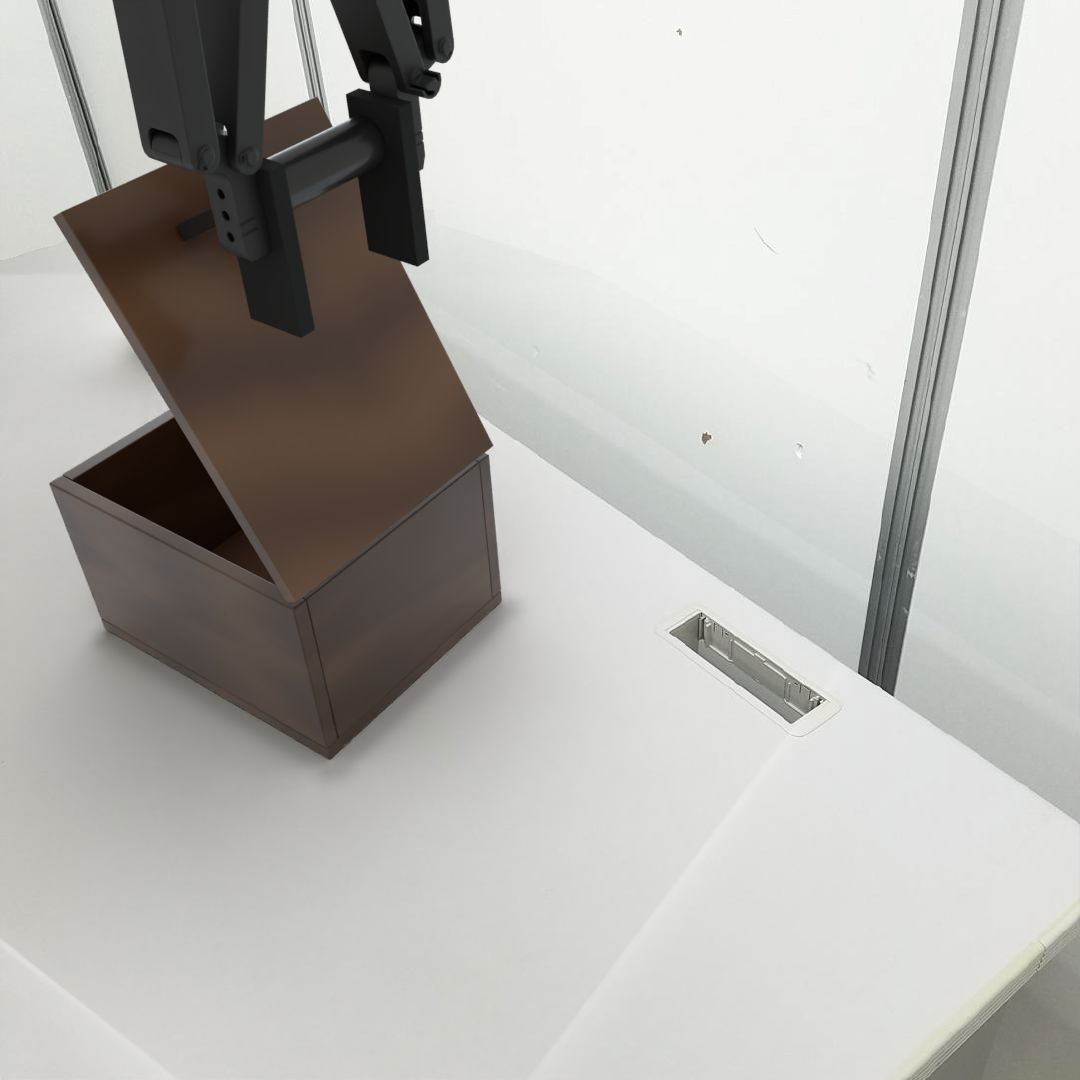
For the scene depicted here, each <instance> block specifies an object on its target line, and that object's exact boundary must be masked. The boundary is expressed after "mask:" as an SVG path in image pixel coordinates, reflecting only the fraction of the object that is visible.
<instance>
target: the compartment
mask: <svg viewBox="0 0 1080 1080" xmlns="http://www.w3.org/2000/svg"><path fill="white" fill-rule="evenodd" d="M48 485H49V487H50V490H51V492H52V493H51V494H52V495H53V497H54V501H55V503H56V506H57V508H58V511H59V513H60V516H61V518H62V521H63V523H64V527H65V529H66V532H67V535H68V536H69V537H68V538H69V539H70V542H71V545H72V548H73V550H74V551H75V552H74V553H75V555H76V558H77V560H78V562H79V566H80V567H81V571H82V573H83V576H84V579H85V581H86V583H87V586H88V588H89V591H90V594H91V596H92V599H93V602H94V605H95V607H96V609H97V612H98V615H99V617H100V618H101V622H102V626H103V628H104V629H105V630H107V631H108V632H110V633H111V634H113V635H115V636H117V637H119V638H120V639H122V640H124V641H126V642H127V643H129V644H131V645H132V646H134V647H136V648H137V649H139V650H141V651H143V652H144V653H146V654H148V655H150V656H151V657H153V658H155V659H157V660H158V661H160V662H162V663H164V664H165V665H166V666H169V667H170V668H172V669H174V670H175V671H177V672H179V673H180V674H182V675H184V676H185V677H187V678H188V679H191V680H193V681H194V682H195V683H197V684H200V685H201V686H203V687H204V688H206V689H208V690H210V691H211V692H213V693H215V694H217V695H219V696H220V697H222V698H224V699H225V700H227V701H229V702H231V703H232V704H234V705H235V706H237V707H239V708H241V709H243V710H244V711H246V712H248V713H249V714H251V715H253V716H255V718H258V719H259V720H262V721H263V722H265V723H266V724H268V725H270V726H272V727H274V728H275V729H277V730H279V731H280V732H282V733H284V734H285V735H288V736H289V737H290V738H292V739H294V740H296V741H297V742H299V743H301V744H303V745H304V746H306V747H308V748H310V749H311V750H313V751H314V752H316V753H318V754H320V755H321V756H323V757H325V758H326V759H329V760H331V759H333V757H334V756H336V755H337V754H338V753H339V752H340V750H342V749H343V748H344V747H345V746H346V745H347V744H348V743H349V742H350V741H352V740H353V738H355V737H356V736H357V735H358V734H359V733H360V732H361V731H363V729H364V728H365V727H367V726H368V725H369V724H370V723H371V722H372V721H373V720H374V719H375V718H376V717H378V715H380V714H381V713H382V712H383V711H384V710H385V709H386V708H387V707H388V706H390V705H391V704H392V703H393V702H394V701H395V700H396V699H397V698H398V697H399V696H400V695H402V693H404V691H406V690H407V689H408V688H409V687H410V686H411V685H412V684H413V683H415V682H416V681H417V680H418V678H420V677H421V676H422V675H424V673H426V672H427V670H429V668H431V667H432V666H433V665H434V664H435V663H436V662H437V661H438V660H439V659H441V658H442V657H443V656H444V655H445V654H446V653H447V652H448V651H449V650H450V649H451V648H453V647H454V646H455V645H456V644H457V643H458V642H459V641H460V640H461V639H462V638H463V637H464V636H465V635H466V634H468V633H469V632H470V631H471V630H472V629H473V628H474V627H476V625H478V624H479V622H480V621H482V620H483V619H484V618H485V617H486V616H487V615H488V614H489V613H490V612H491V611H492V610H494V609H495V608H496V607H497V606H498V605H499V604H500V603H501V602H502V600H503V597H502V584H501V572H500V564H499V563H500V562H499V553H498V552H499V551H498V550H499V549H498V539H497V528H496V518H495V507H494V506H495V505H494V493H493V484H492V473H491V461H490V455H489V454H488V453H486V452H485V453H484V454H483V455H481V456H480V457H479V458H478V459H476V460H475V461H474V462H473V463H471V464H470V465H469V466H468V467H466V468H465V469H464V470H463V471H461V472H460V473H459V474H457V475H456V476H455V477H454V478H452V479H451V480H450V481H449V482H447V483H446V484H445V485H444V486H442V487H441V488H440V489H439V490H437V491H436V492H435V493H434V494H432V495H431V496H430V497H428V498H427V499H426V500H425V501H423V502H422V503H421V504H420V505H418V506H417V507H416V508H415V509H413V510H412V511H411V512H410V513H408V514H407V515H406V516H404V517H403V518H402V519H401V520H399V521H398V522H397V523H396V524H394V525H393V526H392V527H391V528H389V529H388V530H387V531H386V532H384V533H383V534H382V535H381V536H379V537H378V538H377V539H375V540H374V541H373V542H372V543H370V544H369V545H368V546H367V547H365V548H364V549H363V550H362V551H360V552H359V553H358V554H357V555H355V556H354V557H353V558H352V559H350V560H349V561H348V562H346V563H345V564H344V565H343V566H341V567H340V568H339V569H338V570H336V571H335V572H334V573H333V574H331V575H330V576H329V577H328V578H326V579H325V580H324V581H322V582H321V583H320V584H319V585H317V586H316V587H315V588H314V589H312V590H311V591H310V592H309V593H307V594H306V595H305V596H304V597H302V598H301V599H300V600H299V601H297V602H286V600H285V598H284V597H283V595H282V593H281V592H280V590H279V589H278V587H277V585H276V584H275V582H274V580H273V579H272V577H271V575H270V574H269V572H268V570H267V569H266V567H265V566H264V564H263V562H262V561H261V559H260V557H259V556H258V554H257V552H256V551H255V549H254V547H253V546H252V544H251V543H250V541H249V539H248V538H247V536H246V534H245V533H244V531H243V529H242V528H241V526H240V524H239V523H238V521H237V519H236V518H235V516H234V515H233V513H232V511H231V510H230V508H229V506H228V505H227V503H226V501H225V500H224V498H223V496H222V495H221V493H220V492H219V490H218V488H217V487H216V485H215V483H214V482H213V480H212V478H211V477H210V475H209V473H208V472H207V470H206V469H205V467H204V465H203V464H202V462H201V460H200V459H199V457H198V455H197V454H196V452H195V450H194V449H193V447H192V446H191V444H190V442H189V441H188V439H187V437H186V436H185V434H184V432H183V431H182V429H181V427H180V426H179V424H178V422H177V421H176V419H175V418H174V416H173V414H172V413H171V411H170V409H169V408H168V410H166V411H164V412H163V413H161V414H159V415H158V416H155V418H153V419H151V420H150V421H148V422H146V423H144V424H143V425H142V426H139V427H138V428H137V429H135V430H133V431H132V432H130V433H128V434H126V435H125V436H123V437H121V438H120V439H118V440H117V441H115V442H113V443H112V444H110V445H109V446H108V445H107V447H105V448H104V449H102V450H100V451H98V452H97V453H95V454H93V455H92V456H90V457H89V458H87V459H86V460H84V461H82V462H81V463H79V464H77V465H75V466H73V467H71V469H69V470H67V471H66V472H64V473H62V474H61V475H60V476H58V477H56V478H55V479H54V480H51V481H50V482H49V483H48Z"/></svg>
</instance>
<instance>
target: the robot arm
mask: <svg viewBox="0 0 1080 1080" xmlns="http://www.w3.org/2000/svg"><path fill="white" fill-rule="evenodd" d="M111 1H112V5H113V10H114V11H113V12H114V15H115V20H116V26H117V30H118V35H119V40H120V41H119V42H120V45H121V49H122V55H123V60H124V64H125V69H126V75H127V79H128V84H129V89H130V95H131V100H132V104H133V110H134V115H135V119H136V124H137V128H138V135H139V139H140V144H141V148H142V150H143V152H144V154H145V155H146V156H147V158H149V159H152V160H154V161H157V162H161V163H163V164H165V165H166V164H169V165H172V166H175V167H178V168H181V169H184V170H187V171H190V172H194V173H197V174H200V175H203V176H204V179H205V183H206V187H207V192H208V196H209V200H210V205H211V209H212V213H213V215H214V216H213V218H214V222H215V225H216V231H217V235H218V239H219V242H220V244H221V245H222V247H223V248H224V250H225V251H226V252H227V253H230V254H233V255H236V256H237V258H238V263H239V267H240V272H241V276H242V281H243V285H244V290H245V294H246V299H247V303H248V308H249V312H250V317H251V319H253V320H256V321H258V322H261V323H264V324H266V325H269V326H271V327H274V328H276V329H279V330H282V331H284V332H287V333H289V334H292V335H294V336H297V337H300V338H302V337H304V336H306V335H307V334H309V333H310V332H312V331H314V330H315V326H314V321H313V315H312V310H311V304H310V299H309V294H308V288H307V283H306V278H305V272H304V267H303V261H302V256H301V251H300V245H299V240H298V235H297V229H296V224H295V218H294V213H293V208H292V202H291V197H290V192H289V186H288V181H287V175H286V170H285V165H284V164H283V163H280V162H276V161H273V160H270V159H266V158H263V150H264V122H265V118H266V96H267V95H266V93H267V91H266V90H267V67H268V65H267V64H268V62H267V61H268V37H269V34H268V33H269V8H270V6H269V5H270V0H111ZM329 2H330V4H331V6H332V10H333V11H334V14H335V16H336V20H337V22H338V24H339V27H340V30H341V32H342V35H343V37H344V40H345V43H346V45H347V47H348V50H349V52H350V53H349V54H350V55H351V59H352V61H353V63H354V65H355V68H356V71H357V73H358V74H357V75H358V76H359V78H360V79H361V81H362V82H364V83H365V84H368V86H369V90H367V89H363V88H356V89H354V90H352V91H349V92H348V93H346V94H345V100H346V105H347V106H346V107H347V113H348V119H350V118H352V117H354V116H364V117H367V118H368V119H370V120H371V121H372V122H374V123H375V125H376V126H377V127H378V128H379V130H380V132H381V133H382V136H383V138H384V141H385V146H386V155H385V158H384V160H383V162H382V163H381V164H380V165H379V166H377V167H375V168H374V169H372V170H370V171H368V172H366V173H364V174H362V175H360V176H358V182H359V188H360V195H361V202H362V209H363V216H364V222H365V229H366V236H367V243H368V250H369V251H372V252H375V253H378V254H381V255H384V256H387V257H390V258H393V259H396V260H399V261H401V263H405V264H408V265H410V266H414V267H416V268H418V267H420V266H422V265H423V264H425V263H427V262H428V261H429V260H430V254H429V253H430V251H429V243H428V235H427V226H426V218H425V209H424V199H423V191H422V190H423V189H422V181H421V173H420V172H421V171H422V170H424V168H425V167H424V166H425V160H426V151H425V149H426V148H425V142H424V132H423V122H422V114H421V113H422V112H421V103H420V102H421V101H420V98H423V99H427V100H432V99H434V98H436V97H437V95H438V94H439V93H440V90H441V87H442V74H441V72H438V71H434V70H430V69H431V68H432V67H433V66H434V64H436V63H439V64H447V63H448V62H449V61H450V60H451V59H452V56H453V54H454V50H455V38H454V30H453V22H452V15H451V14H452V13H451V8H450V7H451V6H450V0H329ZM415 17H418V18H420V23H421V24H420V23H416V22H415Z"/></svg>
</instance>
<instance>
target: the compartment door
mask: <svg viewBox="0 0 1080 1080" xmlns="http://www.w3.org/2000/svg"><path fill="white" fill-rule="evenodd" d="M385 155H386V146H385V141H384V138H383V136H382V133H381V132H380V130H379V128H378V127H377V126H376V125H375V123H374V122H372V121H371V120H370V119H368V118H367V117H364V116H354V117H352V118H350V119H349V118H348V119H346V120H344V121H342V122H340V123H338V124H336V125H334V126H333V124H332V122H331V120H330V118H329V116H328V114H327V112H326V109H325V108H324V106H323V104H322V102H321V100H320V98H319V97H318V96H314V97H312V98H310V99H308V100H307V99H306V100H305V101H303V102H301V103H299V104H296V105H293V106H292V107H289V108H287V109H286V110H283V111H281V112H279V113H277V114H274V115H272V116H270V117H268V118H266V119H265V122H264V150H263V158H266V159H270V160H273V161H276V162H280V163H283V164H284V165H285V170H286V175H287V181H288V186H289V192H290V197H291V202H292V208H293V213H294V218H295V224H296V229H297V235H298V240H299V245H300V251H301V256H302V261H303V267H304V272H305V278H306V283H307V288H308V294H309V299H310V304H311V310H312V315H313V321H314V326H315V330H314V331H312V332H310V333H309V334H307V335H306V336H304V337H302V338H300V337H297V336H294V335H292V334H289V333H287V332H284V331H282V330H279V329H276V328H274V327H271V326H269V325H266V324H264V323H261V322H258V321H256V320H253V319H251V317H250V312H249V308H248V303H247V299H246V294H245V290H244V285H243V281H242V276H241V272H240V267H239V263H238V258H237V256H236V255H233V254H230V253H227V252H226V251H225V250H224V248H223V247H222V245H221V244H220V242H219V239H218V235H217V231H216V225H215V222H214V218H213V216H214V215H213V213H212V209H211V205H210V200H209V196H208V192H207V187H206V183H205V179H204V176H203V175H200V174H197V173H194V172H190V171H187V170H184V169H181V168H178V167H175V166H172V165H169V164H166V163H165V164H163V165H161V166H159V167H157V168H155V169H153V170H150V171H148V172H146V173H144V174H142V175H140V176H137V177H135V178H132V179H130V180H128V181H126V182H124V183H121V184H119V185H116V186H115V187H113V188H110V189H108V190H106V191H104V192H101V193H100V194H97V195H95V196H93V197H91V198H88V199H86V200H84V201H82V202H80V203H77V204H75V205H72V206H70V207H68V208H66V209H64V210H61V211H59V212H58V213H57V214H55V215H53V217H52V218H53V221H54V222H55V223H56V225H57V228H58V229H59V231H60V232H61V233H62V235H63V237H64V239H65V240H66V242H67V243H68V245H69V246H70V248H71V250H72V252H73V254H74V255H75V256H76V258H77V260H78V261H79V263H80V265H81V266H82V268H83V269H84V271H85V274H87V276H88V278H89V280H90V281H91V283H92V284H93V286H94V288H95V289H96V291H97V293H98V294H99V297H100V298H101V299H102V301H103V302H104V304H105V306H106V307H107V309H108V310H109V313H110V314H111V316H112V317H113V319H114V321H115V323H116V324H117V326H118V327H119V329H120V331H121V332H122V334H123V336H124V337H125V338H126V340H127V342H128V343H129V345H130V347H131V348H132V350H133V352H134V353H135V355H136V357H137V358H138V360H139V362H140V364H141V365H142V367H143V368H144V370H145V372H146V373H147V375H148V377H149V379H150V380H151V382H152V383H153V385H154V386H155V388H156V390H157V391H158V393H159V395H160V396H161V398H162V400H163V401H164V403H165V404H166V407H167V408H168V410H169V409H170V411H171V413H172V414H173V416H174V418H175V419H176V421H177V422H178V424H179V426H180V427H181V429H182V431H183V432H184V434H185V436H186V437H187V439H188V441H189V442H190V444H191V446H192V447H193V449H194V450H195V452H196V454H197V455H198V457H199V459H200V460H201V462H202V464H203V465H204V467H205V469H206V470H207V472H208V473H209V475H210V477H211V478H212V480H213V482H214V483H215V485H216V487H217V488H218V490H219V492H220V493H221V495H222V496H223V498H224V500H225V501H226V503H227V505H228V506H229V508H230V510H231V511H232V513H233V515H234V516H235V518H236V519H237V521H238V523H239V524H240V526H241V528H242V529H243V531H244V533H245V534H246V536H247V538H248V539H249V541H250V543H251V544H252V546H253V547H254V549H255V551H256V552H257V554H258V556H259V557H260V559H261V561H262V562H263V564H264V566H265V567H266V569H267V570H268V572H269V574H270V575H271V577H272V579H273V580H274V582H275V584H276V585H277V587H278V589H279V590H280V592H281V593H282V595H283V597H284V598H285V600H286V602H297V601H299V600H300V599H301V598H302V597H304V596H305V595H306V594H307V593H309V592H310V591H311V590H312V589H314V588H315V587H316V586H317V585H319V584H320V583H321V582H322V581H324V580H325V579H326V578H328V577H329V576H330V575H331V574H333V573H334V572H335V571H336V570H338V569H339V568H340V567H341V566H343V565H344V564H345V563H346V562H348V561H349V560H350V559H352V558H353V557H354V556H355V555H357V554H358V553H359V552H360V551H362V550H363V549H364V548H365V547H367V546H368V545H369V544H370V543H372V542H373V541H374V540H375V539H377V538H378V537H379V536H381V535H382V534H383V533H384V532H386V531H387V530H388V529H389V528H391V527H392V526H393V525H394V524H396V523H397V522H398V521H399V520H401V519H402V518H403V517H404V516H406V515H407V514H408V513H410V512H411V511H412V510H413V509H415V508H416V507H417V506H418V505H420V504H421V503H422V502H423V501H425V500H426V499H427V498H428V497H430V496H431V495H432V494H434V493H435V492H436V491H437V490H439V489H440V488H441V487H442V486H444V485H445V484H446V483H447V482H449V481H450V480H451V479H452V478H454V477H455V476H456V475H457V474H459V473H460V472H461V471H463V470H464V469H465V468H466V467H468V466H469V465H470V464H471V463H473V462H474V461H475V460H476V459H478V458H479V457H480V456H481V455H483V454H484V453H486V452H488V451H489V450H490V449H492V448H494V444H493V441H492V439H491V438H490V435H489V433H488V432H487V430H486V428H485V425H484V424H483V422H482V420H481V418H480V415H479V414H478V412H477V409H476V408H475V406H474V404H473V402H472V400H471V398H470V396H469V394H468V391H467V390H466V388H465V386H464V384H463V382H462V380H461V378H460V376H459V374H458V372H457V370H456V368H455V366H454V364H453V362H452V360H451V357H450V356H449V354H448V352H447V350H446V348H445V346H444V344H443V342H442V340H441V338H440V336H439V335H438V332H437V330H436V328H435V326H434V325H433V323H432V320H431V318H430V316H429V314H428V311H426V308H425V306H424V305H423V302H422V301H421V299H420V296H419V294H418V293H417V291H416V288H415V286H414V284H413V283H412V281H411V279H410V277H409V275H408V273H407V271H406V268H405V267H404V264H403V262H402V261H399V260H396V259H393V258H390V257H387V256H384V255H381V254H378V253H375V252H372V251H369V250H368V243H367V236H366V229H365V222H364V216H363V209H362V202H361V195H360V188H359V182H358V176H360V175H362V174H364V173H366V172H368V171H370V170H372V169H374V168H375V167H377V166H379V165H380V164H381V163H382V162H383V160H384V158H385Z"/></svg>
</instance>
